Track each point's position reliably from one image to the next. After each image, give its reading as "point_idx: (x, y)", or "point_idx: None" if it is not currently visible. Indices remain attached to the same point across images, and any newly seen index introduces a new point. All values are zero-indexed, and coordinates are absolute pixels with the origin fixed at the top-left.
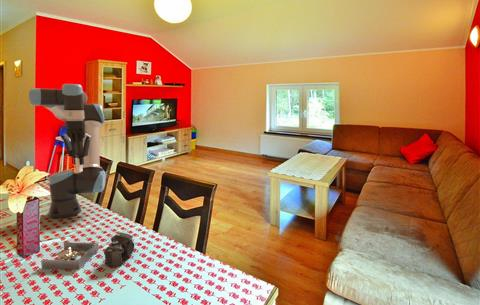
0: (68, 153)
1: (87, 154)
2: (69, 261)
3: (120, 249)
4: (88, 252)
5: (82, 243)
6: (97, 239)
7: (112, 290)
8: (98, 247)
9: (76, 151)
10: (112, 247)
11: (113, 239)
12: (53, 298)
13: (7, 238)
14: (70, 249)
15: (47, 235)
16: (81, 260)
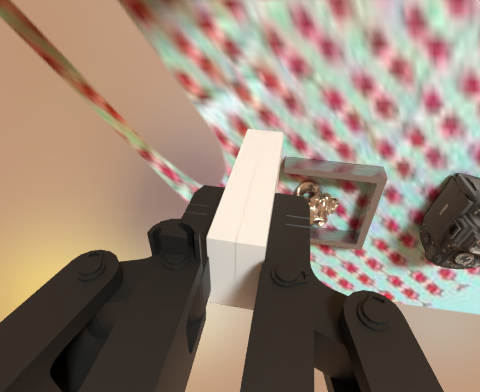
0: (81, 353)
1: (403, 332)
2: (339, 245)
3: (475, 267)
4: (372, 218)
5: (339, 176)
6: (362, 104)
7: (441, 292)
8: (384, 171)
9: (174, 385)
10: (454, 266)
11: (458, 248)
12: (343, 292)
13: (79, 88)
14: (317, 200)
15: (178, 70)
16: (363, 240)
